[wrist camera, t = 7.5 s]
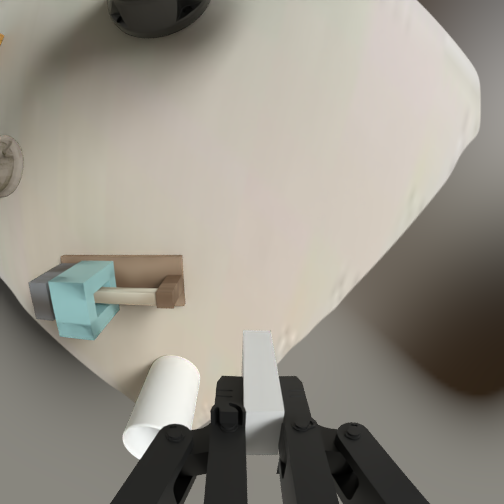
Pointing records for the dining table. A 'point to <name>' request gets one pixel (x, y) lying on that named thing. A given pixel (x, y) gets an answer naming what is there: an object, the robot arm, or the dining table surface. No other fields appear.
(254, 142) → the dining table surface
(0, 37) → the small box
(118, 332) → the dining table surface
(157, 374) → the cup
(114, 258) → the rail
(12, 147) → the mug
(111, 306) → the sleeve
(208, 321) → the dining table surface
